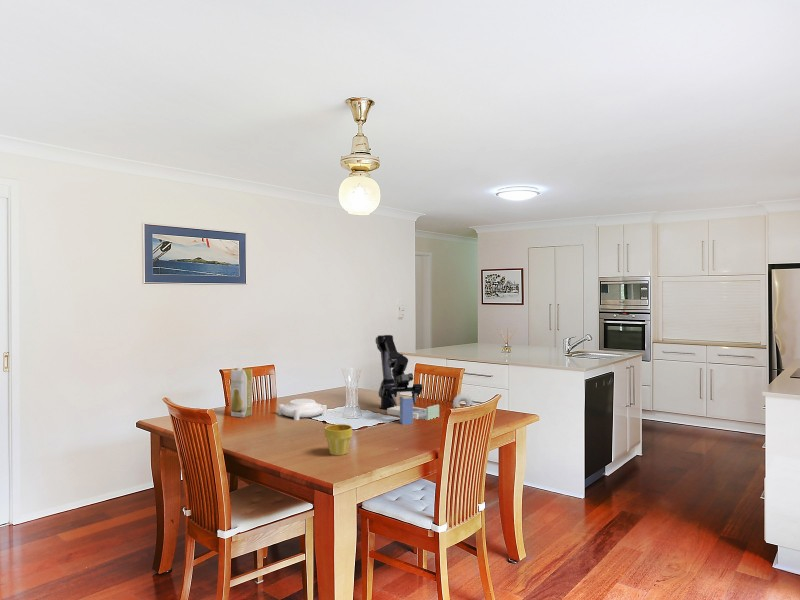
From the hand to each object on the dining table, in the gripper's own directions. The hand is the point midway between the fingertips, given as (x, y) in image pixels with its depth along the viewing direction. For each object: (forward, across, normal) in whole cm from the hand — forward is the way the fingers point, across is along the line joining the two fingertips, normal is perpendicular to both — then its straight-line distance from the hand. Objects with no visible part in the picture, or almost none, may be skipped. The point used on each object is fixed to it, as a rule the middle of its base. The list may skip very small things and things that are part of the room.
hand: (405, 404), depth 260 cm
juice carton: (-18, -73, +30) cm, 81 cm away
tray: (-3, +10, +15) cm, 18 cm away
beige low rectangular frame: (-6, +7, +18) cm, 20 cm away
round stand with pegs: (-15, -44, +27) cm, 54 cm away
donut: (-3, +34, +15) cm, 37 cm away
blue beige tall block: (+6, 0, +6) cm, 9 cm away
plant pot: (+35, -39, -22) cm, 56 cm away
